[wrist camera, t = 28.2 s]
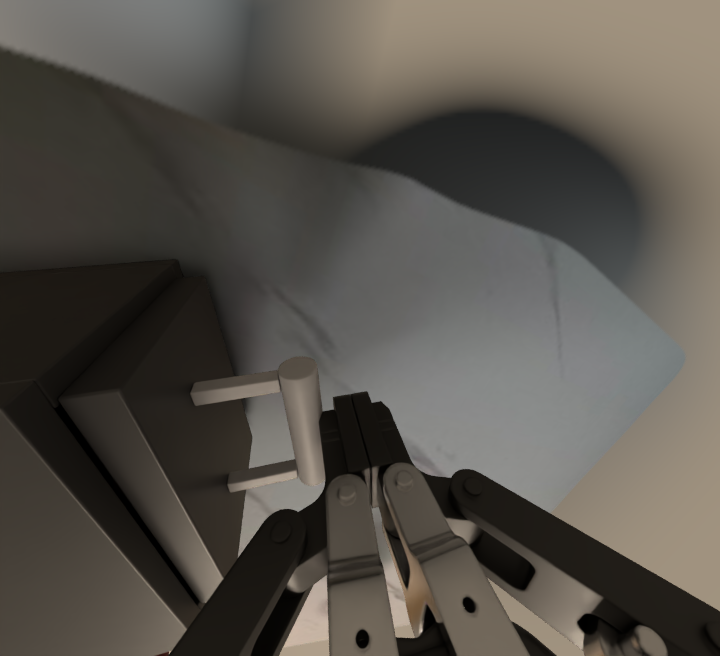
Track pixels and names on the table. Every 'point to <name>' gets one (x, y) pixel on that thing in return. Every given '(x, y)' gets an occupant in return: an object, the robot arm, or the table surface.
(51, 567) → the cabinet
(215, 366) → the drawer
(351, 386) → the table surface
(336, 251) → the table surface
